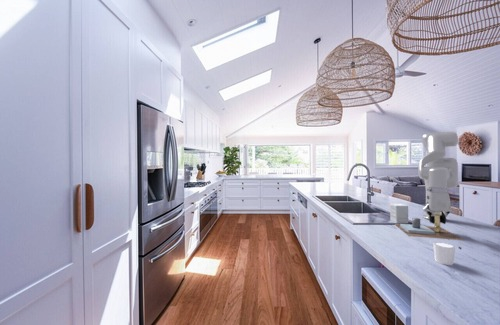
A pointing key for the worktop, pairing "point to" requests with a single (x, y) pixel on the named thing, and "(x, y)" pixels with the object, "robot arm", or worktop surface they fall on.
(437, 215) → the key
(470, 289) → the worktop surface
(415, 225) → the lid
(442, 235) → the board
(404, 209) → the supplement box
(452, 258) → the shot glass
